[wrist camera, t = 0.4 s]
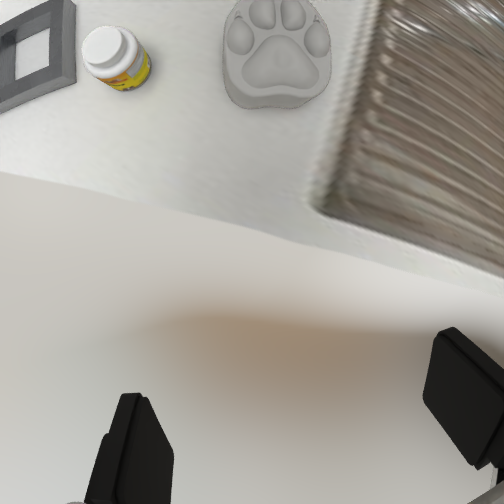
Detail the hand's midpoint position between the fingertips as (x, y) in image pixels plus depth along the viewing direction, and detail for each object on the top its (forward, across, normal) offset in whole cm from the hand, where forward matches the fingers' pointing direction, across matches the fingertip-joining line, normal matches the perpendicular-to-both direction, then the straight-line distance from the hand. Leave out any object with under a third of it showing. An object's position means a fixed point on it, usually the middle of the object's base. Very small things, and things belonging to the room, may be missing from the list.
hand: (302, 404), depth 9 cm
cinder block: (+30, +29, -27) cm, 49 cm away
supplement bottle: (+30, +10, -20) cm, 37 cm away
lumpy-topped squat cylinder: (+30, -6, -19) cm, 36 cm away
